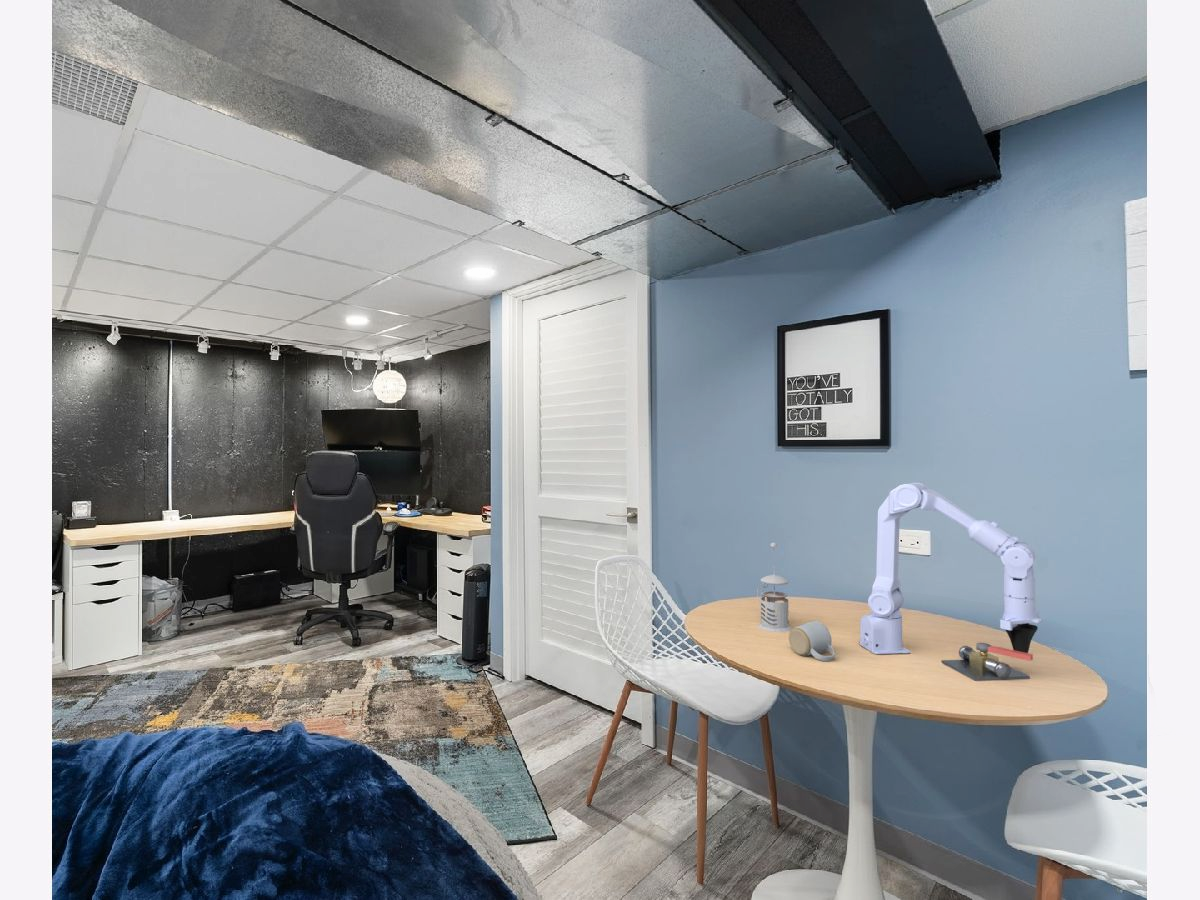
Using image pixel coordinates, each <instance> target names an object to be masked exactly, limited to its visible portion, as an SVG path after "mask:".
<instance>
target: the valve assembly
mask: <svg viewBox="0 0 1200 900" xmlns="http://www.w3.org/2000/svg"><path fill="white" fill-rule="evenodd" d="M958 656H959V658H960V659H944V660H943V659H942V660H941V663H942V664H943V665H945V666H947V667H949V668H950V669H953V670H954V671H956V672H958V673H960V674H962V675H963V676H966V678H969V679H970V680H972V681H976V682H978V681H980V682H981V681H1001V680H1003V681H1004V680H1006V681H1008V680H1028V679H1029V680H1030V679H1031V676H1030V675H1029V674H1026V673H1024V672H1022V671H1020V670H1018V669H1016V668H1013V667H1012V666H1010V665H1009V664H1008V663H1006V662H1001V661H999V657H998V656H996V655H994V654H991V653H990V652H983V651H976V650H974V649H973V648H972V647H971V646H969V645H963V646H961V647H960V648H959V651H958Z"/></svg>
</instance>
